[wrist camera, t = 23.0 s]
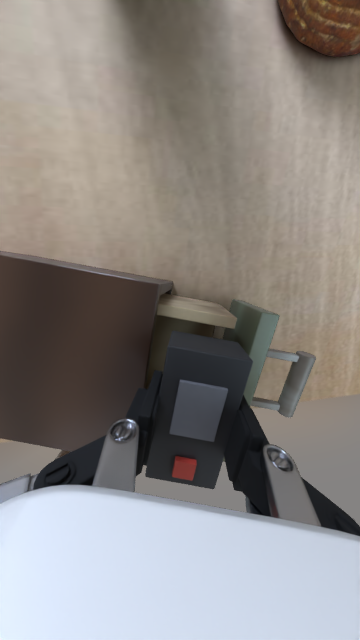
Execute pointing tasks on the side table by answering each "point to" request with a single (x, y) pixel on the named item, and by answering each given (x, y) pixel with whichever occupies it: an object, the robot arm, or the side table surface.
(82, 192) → the side table surface
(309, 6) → the bell
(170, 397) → the remote
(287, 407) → the drawer
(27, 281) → the cabinet
